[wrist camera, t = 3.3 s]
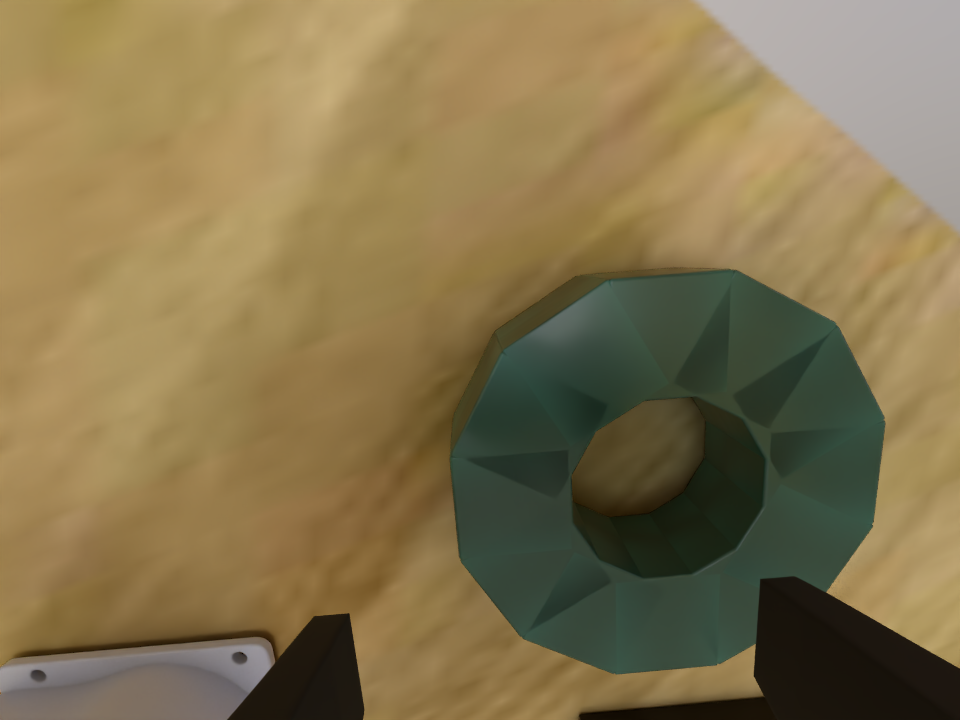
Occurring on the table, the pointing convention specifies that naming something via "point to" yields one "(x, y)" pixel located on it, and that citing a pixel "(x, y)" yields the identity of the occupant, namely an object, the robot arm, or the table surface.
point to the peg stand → (695, 712)
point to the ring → (709, 495)
